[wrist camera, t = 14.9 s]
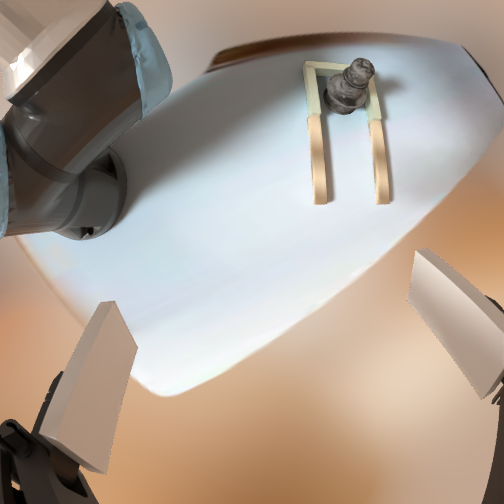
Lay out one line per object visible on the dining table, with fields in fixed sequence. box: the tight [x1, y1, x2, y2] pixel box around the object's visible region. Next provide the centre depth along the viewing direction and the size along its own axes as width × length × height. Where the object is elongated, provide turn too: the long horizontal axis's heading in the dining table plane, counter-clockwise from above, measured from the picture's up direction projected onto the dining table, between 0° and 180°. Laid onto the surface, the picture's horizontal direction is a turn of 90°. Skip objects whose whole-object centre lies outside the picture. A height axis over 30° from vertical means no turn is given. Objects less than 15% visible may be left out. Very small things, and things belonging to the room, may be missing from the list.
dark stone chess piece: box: [323, 58, 375, 115], centre depth 28 cm, size 6×6×12 cm
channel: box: [307, 116, 390, 205], centre depth 35 cm, size 12×11×2 cm
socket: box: [303, 61, 382, 123], centre depth 33 cm, size 9×10×2 cm
